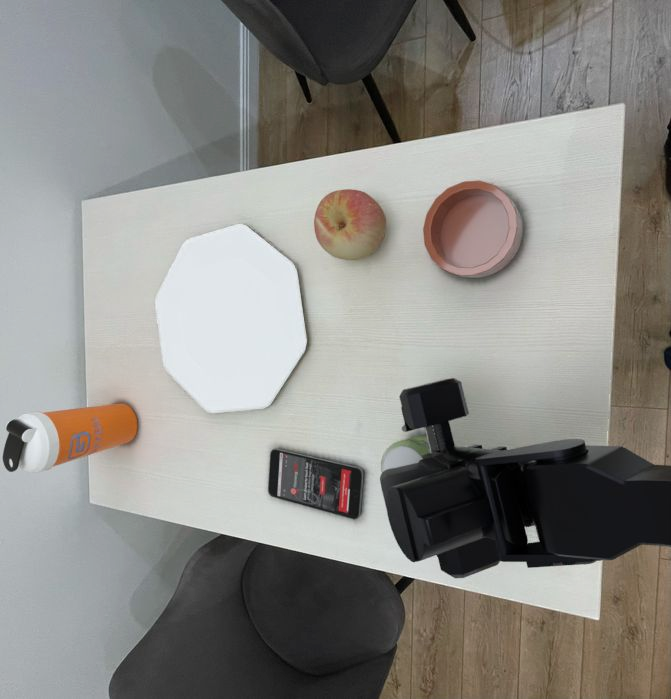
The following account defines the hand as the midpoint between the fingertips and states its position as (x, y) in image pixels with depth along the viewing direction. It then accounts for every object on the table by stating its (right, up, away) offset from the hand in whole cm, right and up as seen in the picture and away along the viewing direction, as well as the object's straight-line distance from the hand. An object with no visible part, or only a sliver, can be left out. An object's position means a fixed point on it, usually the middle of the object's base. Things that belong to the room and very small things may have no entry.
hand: (415, 467), depth 62 cm
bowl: (+8, +28, +4) cm, 29 cm away
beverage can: (+3, 0, +8) cm, 9 cm away
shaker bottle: (-46, +1, +34) cm, 57 cm away
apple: (-5, +29, +11) cm, 32 cm away
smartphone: (-12, -5, +16) cm, 21 cm away
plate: (-25, +18, +22) cm, 38 cm away
